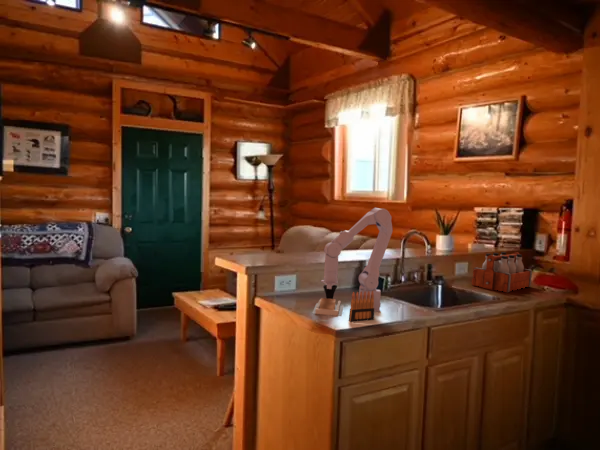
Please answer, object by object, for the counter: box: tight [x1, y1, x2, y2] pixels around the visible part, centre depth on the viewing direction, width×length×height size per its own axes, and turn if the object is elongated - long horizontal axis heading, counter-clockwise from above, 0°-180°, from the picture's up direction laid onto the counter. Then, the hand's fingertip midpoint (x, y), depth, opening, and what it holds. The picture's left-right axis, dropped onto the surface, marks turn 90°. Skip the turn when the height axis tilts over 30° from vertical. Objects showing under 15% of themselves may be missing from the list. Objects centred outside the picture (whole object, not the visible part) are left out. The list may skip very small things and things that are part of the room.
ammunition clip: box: [348, 290, 375, 323], centre depth 188 cm, size 11×2×12 cm, turn 116°
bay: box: [311, 298, 344, 317], centre depth 202 cm, size 12×18×2 cm, turn 172°
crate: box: [319, 297, 337, 310], centre depth 197 cm, size 6×6×5 cm
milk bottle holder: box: [471, 251, 533, 293], centre depth 276 cm, size 21×35×19 cm, turn 131°
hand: (329, 302), depth 205 cm, fingers closed
